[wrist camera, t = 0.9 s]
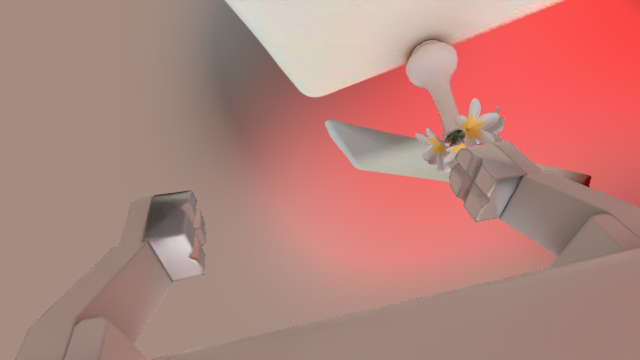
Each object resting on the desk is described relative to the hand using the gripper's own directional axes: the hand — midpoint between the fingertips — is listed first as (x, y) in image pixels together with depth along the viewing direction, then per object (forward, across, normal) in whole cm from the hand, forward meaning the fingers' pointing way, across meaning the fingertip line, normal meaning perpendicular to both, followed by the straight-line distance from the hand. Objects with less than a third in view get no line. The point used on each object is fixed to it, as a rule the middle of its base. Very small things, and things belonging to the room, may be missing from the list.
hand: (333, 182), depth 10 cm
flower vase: (+49, -32, +18) cm, 61 cm away
